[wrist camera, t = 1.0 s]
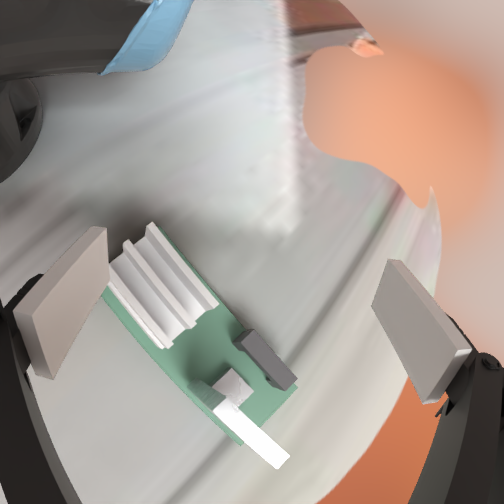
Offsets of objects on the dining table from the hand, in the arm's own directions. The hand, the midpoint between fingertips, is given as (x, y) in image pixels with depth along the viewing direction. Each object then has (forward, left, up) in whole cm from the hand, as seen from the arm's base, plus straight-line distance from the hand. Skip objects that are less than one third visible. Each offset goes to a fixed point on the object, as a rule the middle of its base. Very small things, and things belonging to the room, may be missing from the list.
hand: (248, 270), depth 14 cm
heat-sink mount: (+3, -2, -16) cm, 17 cm away
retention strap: (+8, -3, -15) cm, 17 cm away
